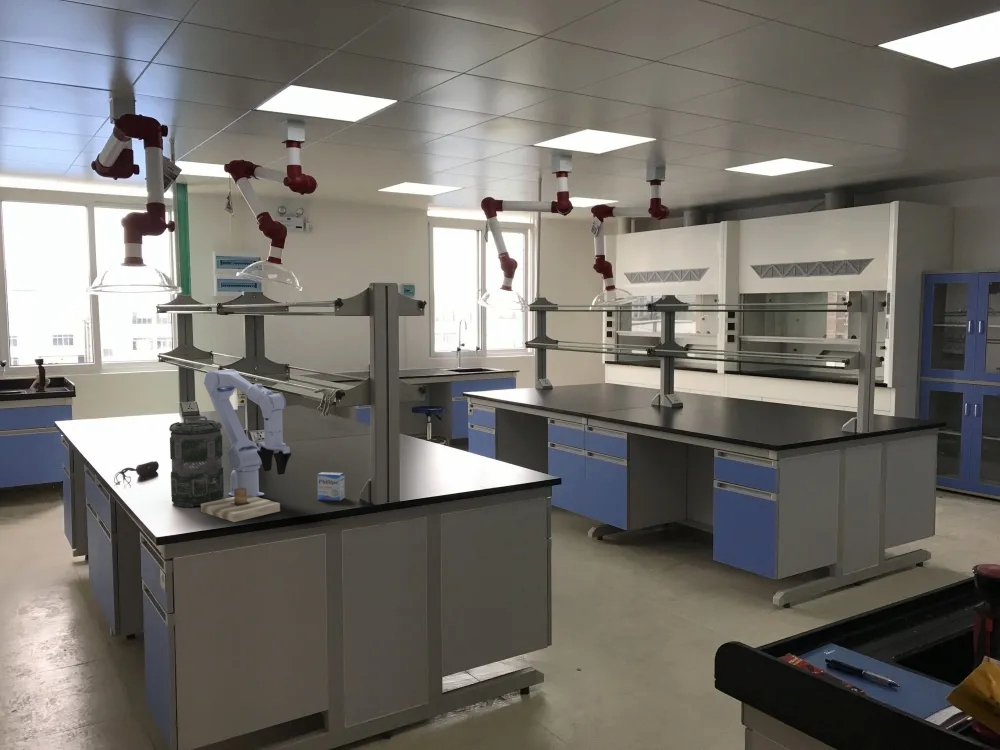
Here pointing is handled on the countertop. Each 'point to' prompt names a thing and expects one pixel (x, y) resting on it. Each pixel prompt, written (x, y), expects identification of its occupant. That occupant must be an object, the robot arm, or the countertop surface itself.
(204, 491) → the canister
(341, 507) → the countertop surface
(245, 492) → the peg
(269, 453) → the robot arm
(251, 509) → the board
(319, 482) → the medicine box
